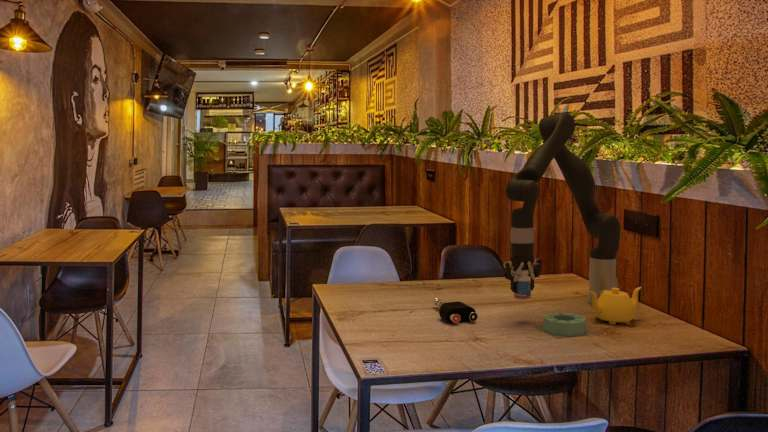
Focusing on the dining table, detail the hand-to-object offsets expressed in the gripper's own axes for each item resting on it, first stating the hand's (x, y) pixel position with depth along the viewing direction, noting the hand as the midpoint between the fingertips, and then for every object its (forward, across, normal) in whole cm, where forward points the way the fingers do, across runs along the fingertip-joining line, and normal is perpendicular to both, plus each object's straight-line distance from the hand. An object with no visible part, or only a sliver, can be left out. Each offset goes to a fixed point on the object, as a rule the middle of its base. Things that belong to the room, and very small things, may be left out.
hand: (522, 290), depth 212 cm
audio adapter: (+11, +18, -18) cm, 28 cm away
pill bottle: (+3, 0, 0) cm, 3 cm away
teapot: (+12, -29, +9) cm, 33 cm away
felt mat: (+11, -7, +13) cm, 18 cm away
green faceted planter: (+11, -7, +13) cm, 18 cm away
